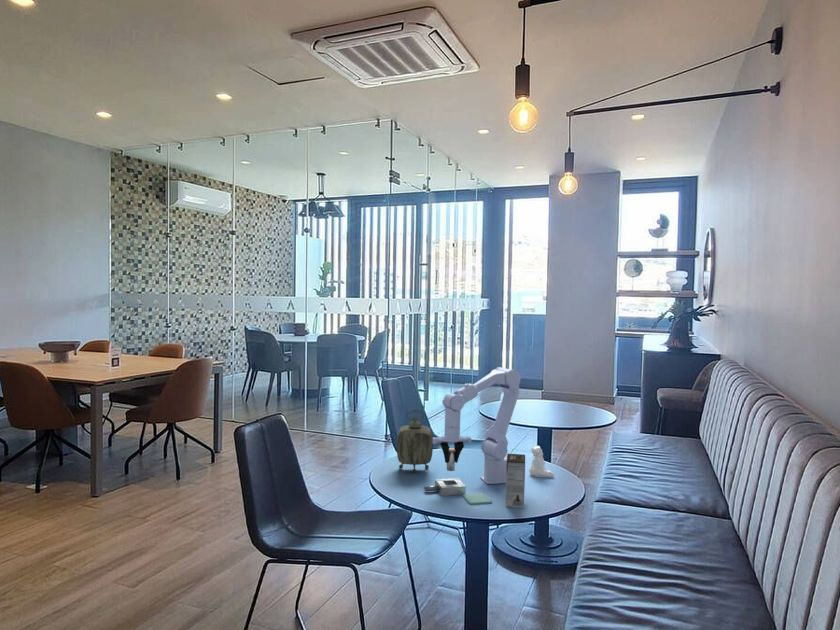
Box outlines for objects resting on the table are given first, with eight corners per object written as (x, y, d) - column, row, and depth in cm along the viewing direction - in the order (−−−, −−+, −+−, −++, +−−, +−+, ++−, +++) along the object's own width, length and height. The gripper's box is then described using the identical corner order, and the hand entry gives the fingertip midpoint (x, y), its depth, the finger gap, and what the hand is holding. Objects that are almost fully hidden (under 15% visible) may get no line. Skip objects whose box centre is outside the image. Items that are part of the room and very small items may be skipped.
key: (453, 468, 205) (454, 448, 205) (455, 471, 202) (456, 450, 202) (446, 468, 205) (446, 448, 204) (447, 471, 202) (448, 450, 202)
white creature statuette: (555, 477, 218) (556, 448, 217) (537, 480, 214) (538, 450, 213) (540, 470, 226) (541, 442, 226) (523, 473, 222) (524, 444, 222)
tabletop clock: (431, 467, 226) (432, 408, 225) (432, 475, 217) (434, 412, 216) (396, 467, 225) (397, 407, 224) (396, 474, 216) (397, 412, 215)
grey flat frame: (457, 485, 205) (458, 478, 205) (465, 494, 196) (465, 486, 196) (421, 487, 202) (422, 480, 202) (428, 496, 193) (428, 488, 193)
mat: (483, 494, 196) (484, 493, 196) (492, 503, 189) (492, 501, 189) (462, 496, 194) (462, 494, 194) (470, 504, 187) (470, 502, 187)
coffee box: (505, 497, 195) (507, 452, 194) (523, 498, 193) (525, 454, 193) (505, 506, 186) (506, 460, 185) (524, 508, 184) (525, 461, 184)
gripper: (467, 423, 208) (466, 458, 208) (430, 423, 205) (429, 459, 205) (473, 427, 201) (472, 463, 202) (435, 428, 198) (434, 465, 198)
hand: (451, 462), depth 203 cm, fingers closed on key, 3 cm apart
